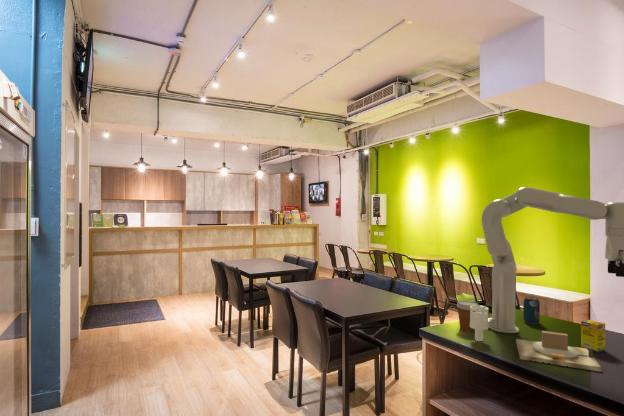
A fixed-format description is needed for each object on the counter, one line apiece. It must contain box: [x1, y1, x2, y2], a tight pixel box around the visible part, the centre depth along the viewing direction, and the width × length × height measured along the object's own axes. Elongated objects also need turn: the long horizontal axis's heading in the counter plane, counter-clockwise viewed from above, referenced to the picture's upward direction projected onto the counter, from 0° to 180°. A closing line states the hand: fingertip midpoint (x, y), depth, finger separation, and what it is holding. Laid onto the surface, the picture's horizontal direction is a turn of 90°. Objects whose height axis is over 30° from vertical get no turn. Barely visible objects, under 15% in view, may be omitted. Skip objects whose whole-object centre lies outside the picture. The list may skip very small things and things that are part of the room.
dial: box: [533, 330, 577, 359], centre depth 141 cm, size 14×16×7 cm
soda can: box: [522, 296, 541, 325], centre depth 186 cm, size 7×7×12 cm
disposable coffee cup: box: [456, 300, 479, 332], centre depth 173 cm, size 10×10×12 cm
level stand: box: [515, 338, 602, 372], centre depth 141 cm, size 24×20×4 cm
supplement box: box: [580, 319, 606, 354], centre depth 149 cm, size 6×6×11 cm
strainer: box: [470, 304, 489, 342], centre depth 157 cm, size 7×7×15 cm
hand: (616, 274), depth 153 cm, fingers open, 9 cm apart
